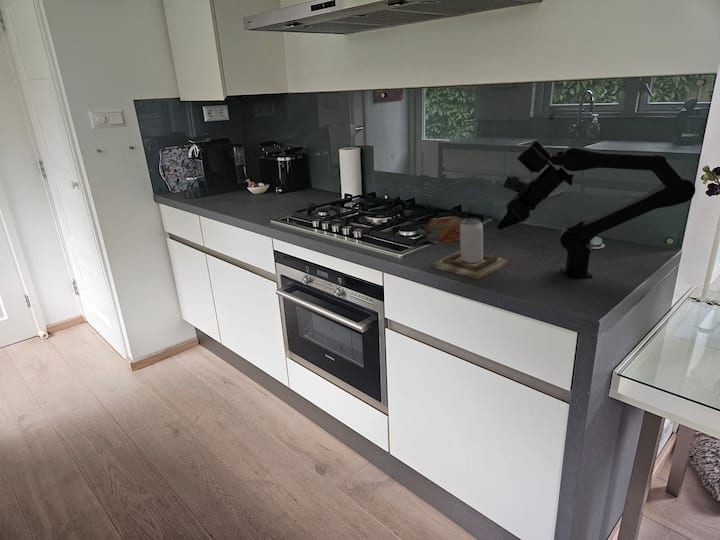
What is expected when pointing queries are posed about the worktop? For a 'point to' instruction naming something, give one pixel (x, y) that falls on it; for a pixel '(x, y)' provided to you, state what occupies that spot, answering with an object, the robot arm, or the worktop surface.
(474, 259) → the can
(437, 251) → the worktop surface
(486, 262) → the base plate
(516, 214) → the robot arm
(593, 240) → the pacifier
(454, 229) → the tin
